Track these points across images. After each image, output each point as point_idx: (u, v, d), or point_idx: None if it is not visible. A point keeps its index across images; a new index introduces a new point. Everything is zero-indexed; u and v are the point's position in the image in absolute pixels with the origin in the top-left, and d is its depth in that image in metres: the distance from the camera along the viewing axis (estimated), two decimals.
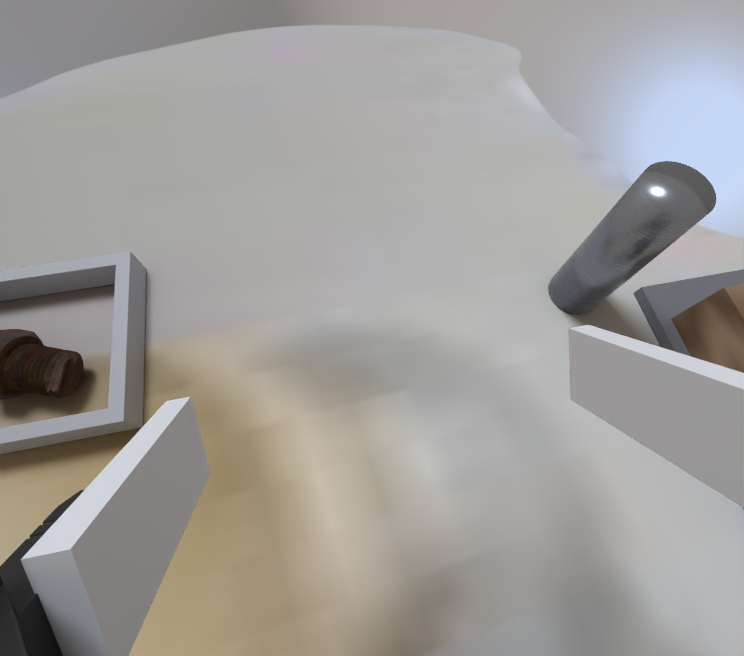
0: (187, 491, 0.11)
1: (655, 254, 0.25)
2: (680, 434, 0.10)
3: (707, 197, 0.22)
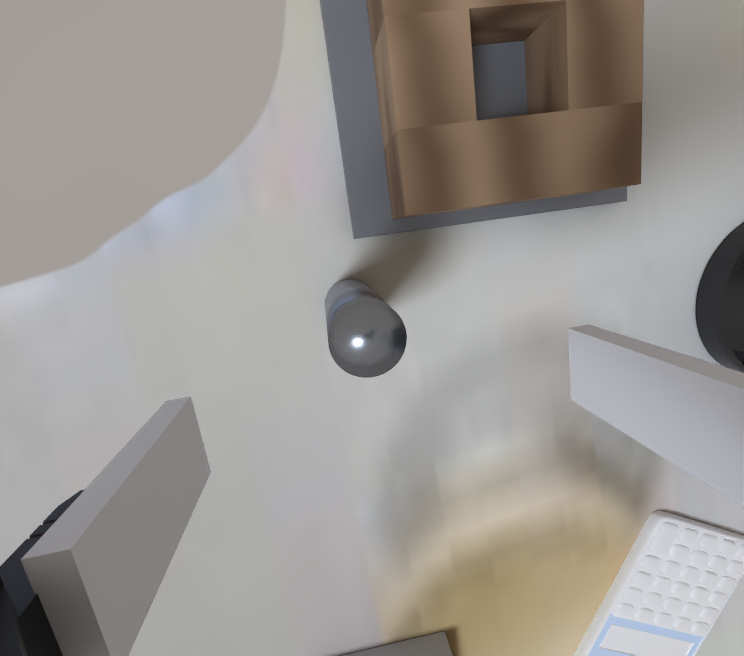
0: (188, 491, 0.11)
1: None
2: (680, 434, 0.10)
3: (380, 312, 0.20)
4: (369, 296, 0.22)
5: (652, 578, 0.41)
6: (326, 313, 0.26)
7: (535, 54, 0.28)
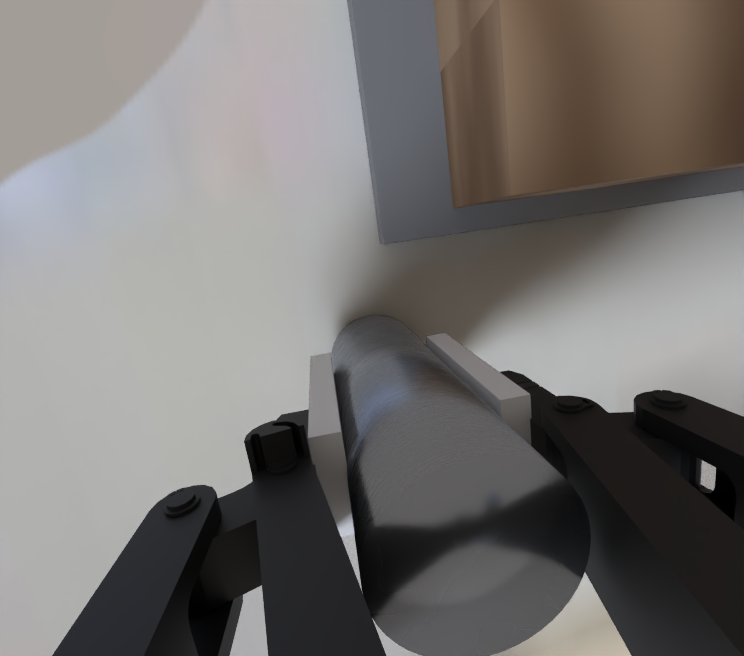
0: None
1: None
2: None
3: (523, 483, 0.07)
4: (464, 408, 0.08)
5: None
6: (338, 404, 0.13)
7: None
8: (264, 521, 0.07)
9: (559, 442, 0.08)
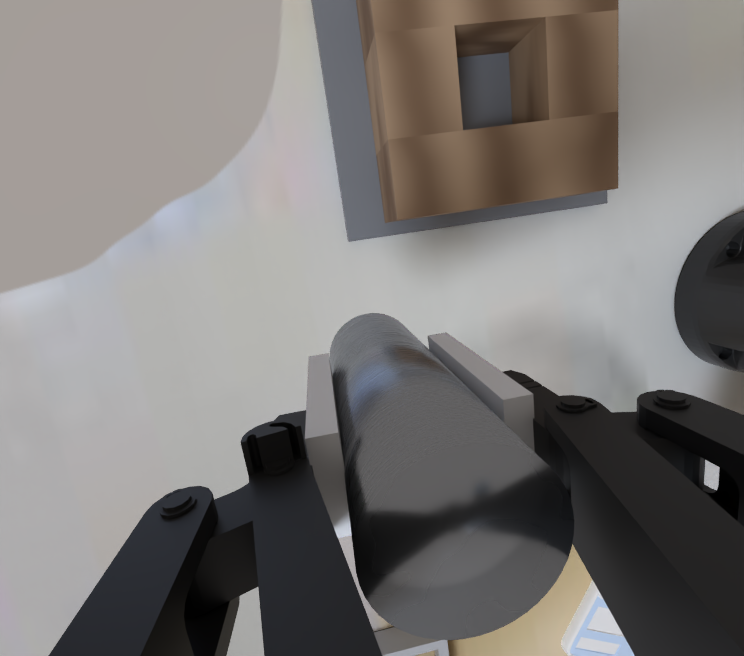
0: None
1: None
2: None
3: (509, 471, 0.07)
4: (455, 400, 0.08)
5: None
6: (336, 399, 0.13)
7: (518, 65, 0.29)
8: (261, 522, 0.07)
9: (562, 442, 0.08)
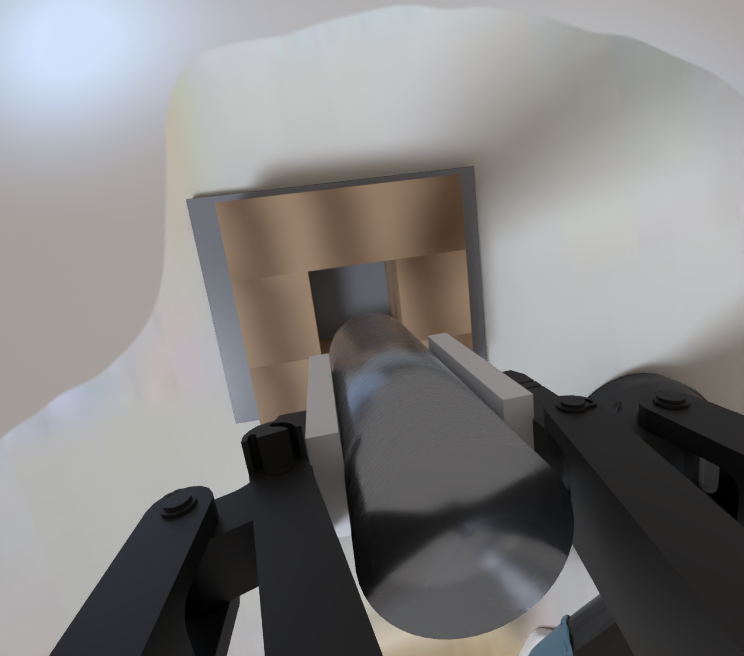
0: None
1: None
2: None
3: (509, 470, 0.07)
4: (454, 400, 0.08)
5: None
6: (336, 398, 0.13)
7: (388, 275, 0.31)
8: (261, 522, 0.07)
9: (562, 442, 0.08)
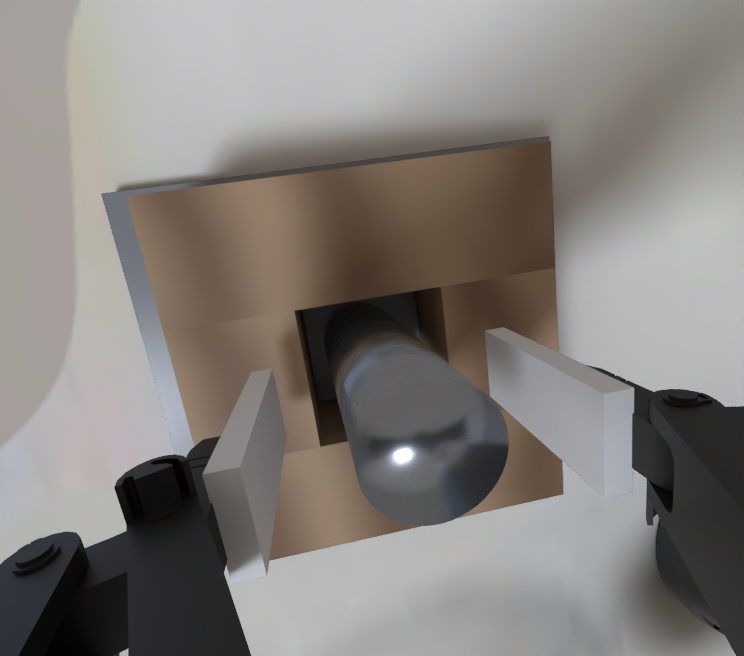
0: (278, 447, 0.13)
1: None
2: (555, 426, 0.11)
3: (461, 400, 0.10)
4: (425, 358, 0.11)
5: None
6: (333, 370, 0.16)
7: (422, 306, 0.20)
8: (137, 578, 0.06)
9: (667, 434, 0.08)
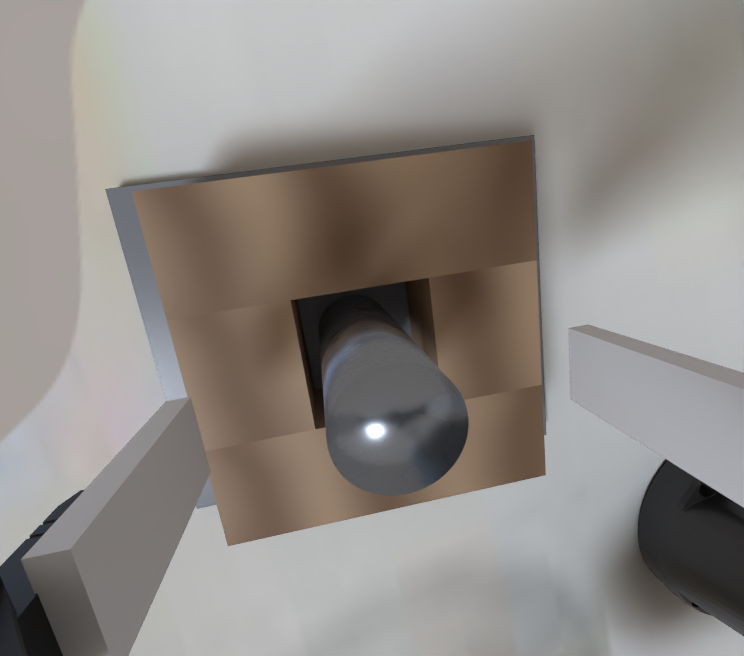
0: (188, 491, 0.11)
1: None
2: (680, 434, 0.10)
3: (423, 382, 0.11)
4: (397, 344, 0.12)
5: None
6: (321, 356, 0.17)
7: (412, 297, 0.21)
8: None
9: None
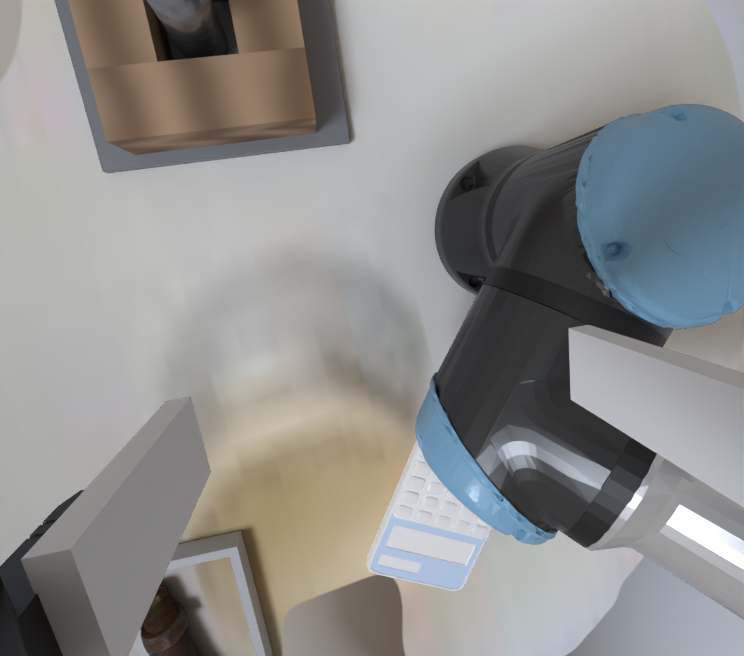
0: (188, 491, 0.11)
1: None
2: (680, 434, 0.10)
3: None
4: None
5: (426, 483, 0.47)
6: None
7: None
8: None
9: None
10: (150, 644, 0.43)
